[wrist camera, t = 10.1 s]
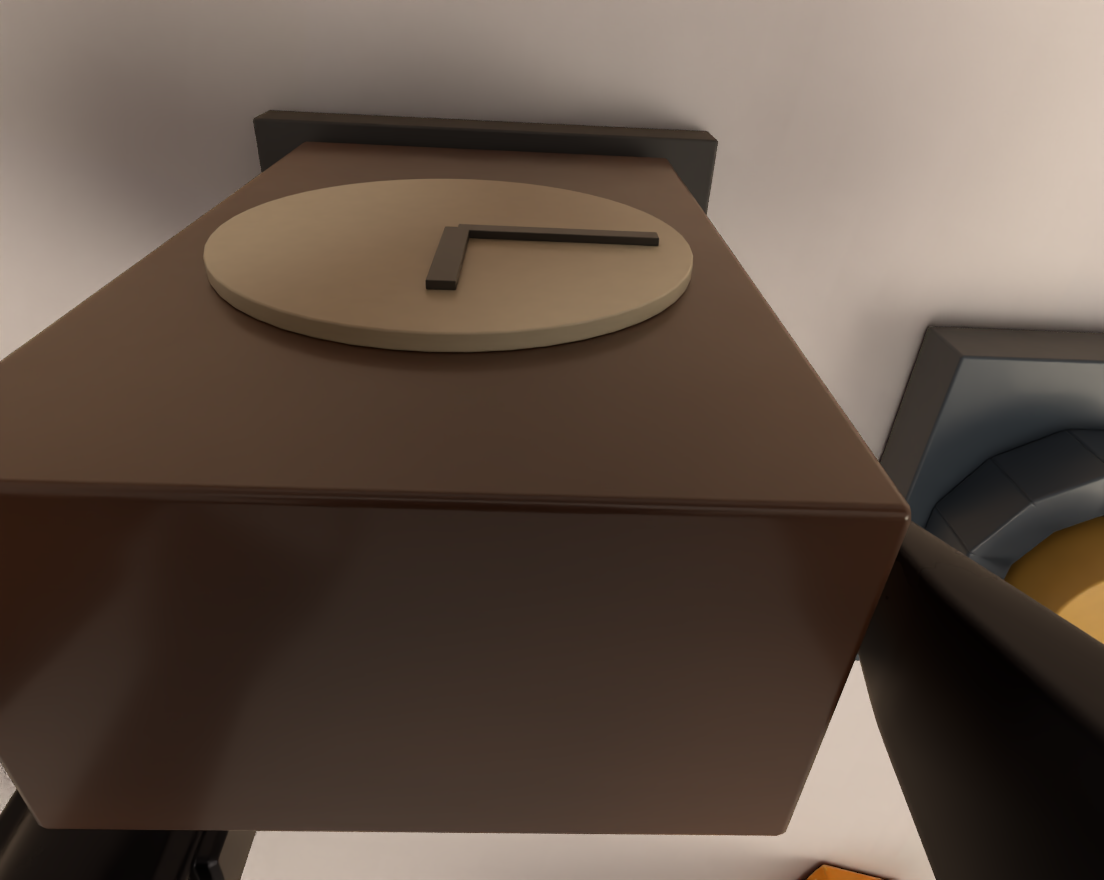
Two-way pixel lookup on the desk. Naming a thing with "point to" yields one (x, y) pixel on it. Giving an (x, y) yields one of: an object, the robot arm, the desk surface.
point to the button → (1067, 575)
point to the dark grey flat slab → (492, 139)
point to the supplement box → (837, 874)
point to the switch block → (1001, 438)
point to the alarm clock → (431, 516)
